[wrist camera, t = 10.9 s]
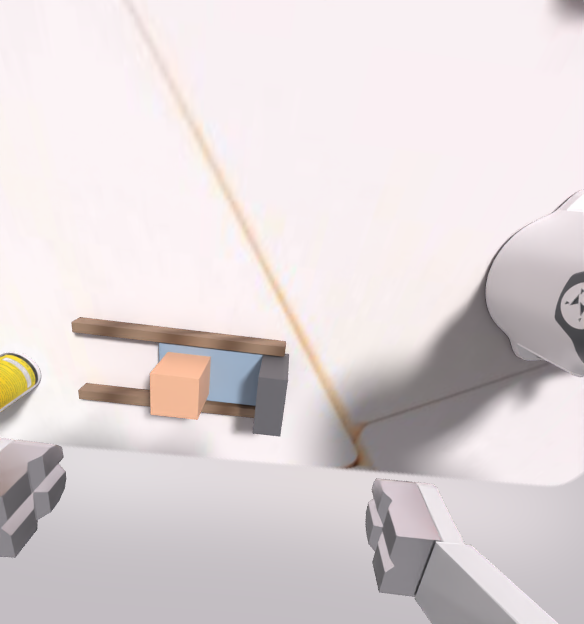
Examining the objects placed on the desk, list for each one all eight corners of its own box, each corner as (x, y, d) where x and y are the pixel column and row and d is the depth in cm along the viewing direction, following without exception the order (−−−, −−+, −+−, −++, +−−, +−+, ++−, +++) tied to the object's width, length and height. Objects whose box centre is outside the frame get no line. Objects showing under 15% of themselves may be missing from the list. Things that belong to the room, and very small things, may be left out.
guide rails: (285, 341, 39) (285, 347, 38) (276, 412, 42) (276, 420, 41) (80, 317, 38) (71, 322, 37) (87, 391, 42) (79, 398, 40)
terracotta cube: (210, 356, 39) (199, 379, 34) (209, 393, 40) (197, 419, 36) (167, 351, 38) (149, 373, 34) (167, 388, 40) (150, 414, 35)
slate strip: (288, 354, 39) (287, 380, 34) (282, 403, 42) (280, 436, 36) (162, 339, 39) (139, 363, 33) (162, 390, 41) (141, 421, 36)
